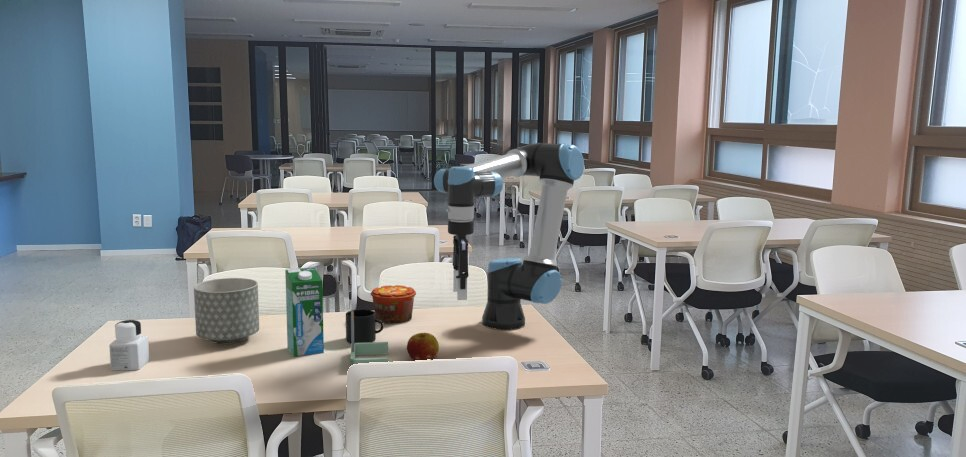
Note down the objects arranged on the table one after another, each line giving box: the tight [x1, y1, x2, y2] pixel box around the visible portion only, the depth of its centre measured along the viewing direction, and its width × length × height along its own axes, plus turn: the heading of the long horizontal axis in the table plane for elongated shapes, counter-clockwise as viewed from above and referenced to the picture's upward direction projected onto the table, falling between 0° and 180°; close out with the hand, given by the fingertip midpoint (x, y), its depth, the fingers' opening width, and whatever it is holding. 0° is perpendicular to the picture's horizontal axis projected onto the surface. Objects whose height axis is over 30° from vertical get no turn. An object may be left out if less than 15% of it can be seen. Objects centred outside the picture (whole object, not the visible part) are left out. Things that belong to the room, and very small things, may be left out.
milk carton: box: [284, 266, 325, 357], centre depth 216 cm, size 9×9×25 cm
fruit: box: [406, 332, 440, 361], centre depth 210 cm, size 10×9×8 cm
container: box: [109, 319, 150, 371], centre depth 202 cm, size 8×8×13 cm
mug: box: [345, 308, 384, 344], centre depth 228 cm, size 9×12×9 cm
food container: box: [370, 284, 417, 325], centre depth 252 cm, size 16×16×11 cm
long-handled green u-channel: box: [349, 310, 391, 367], centre depth 207 cm, size 11×15×16 cm
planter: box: [193, 277, 260, 345], centre depth 225 cm, size 19×19×18 cm
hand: (460, 295), depth 210 cm, fingers open, 9 cm apart
